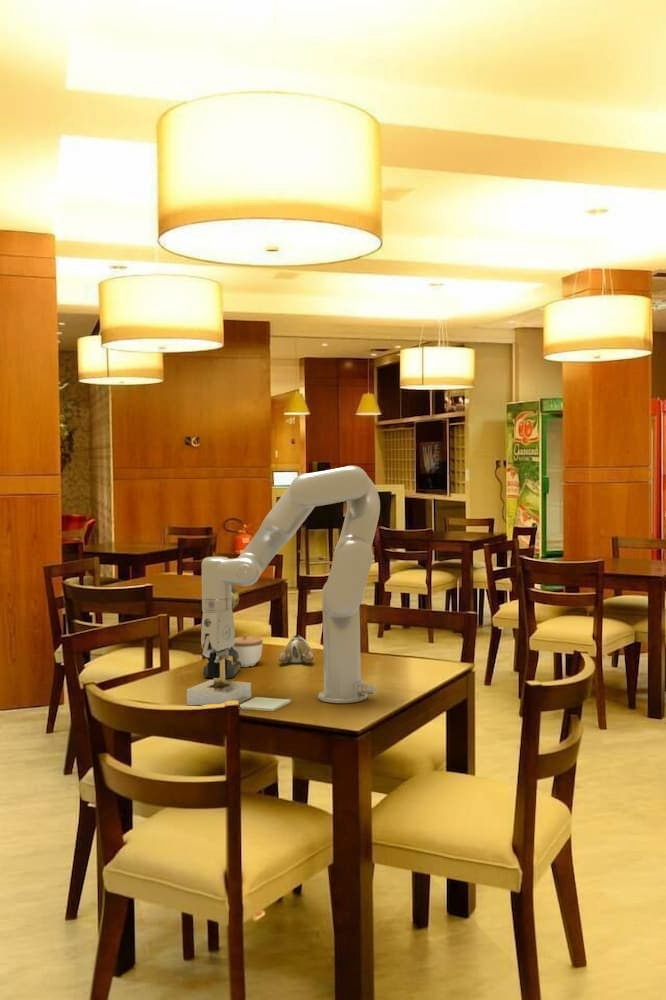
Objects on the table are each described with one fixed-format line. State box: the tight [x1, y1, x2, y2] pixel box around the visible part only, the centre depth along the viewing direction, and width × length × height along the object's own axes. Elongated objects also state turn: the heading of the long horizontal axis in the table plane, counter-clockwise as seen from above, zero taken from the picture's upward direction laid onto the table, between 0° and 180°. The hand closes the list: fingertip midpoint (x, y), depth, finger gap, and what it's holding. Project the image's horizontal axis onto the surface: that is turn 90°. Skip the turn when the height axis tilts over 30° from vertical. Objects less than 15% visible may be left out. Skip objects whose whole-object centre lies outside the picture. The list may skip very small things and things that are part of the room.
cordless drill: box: [202, 587, 242, 679], centre depth 282 cm, size 9×20×25 cm, turn 172°
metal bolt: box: [211, 648, 229, 688], centre depth 251 cm, size 5×5×10 cm
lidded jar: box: [232, 633, 263, 668], centre depth 298 cm, size 11×11×9 cm
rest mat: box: [239, 696, 292, 712], centre depth 246 cm, size 10×10×1 cm
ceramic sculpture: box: [278, 634, 315, 664], centre depth 301 cm, size 11×9×15 cm
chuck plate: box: [186, 679, 252, 706], centre depth 251 cm, size 12×12×4 cm
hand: (217, 675), depth 251 cm, fingers closed on metal bolt, 3 cm apart
